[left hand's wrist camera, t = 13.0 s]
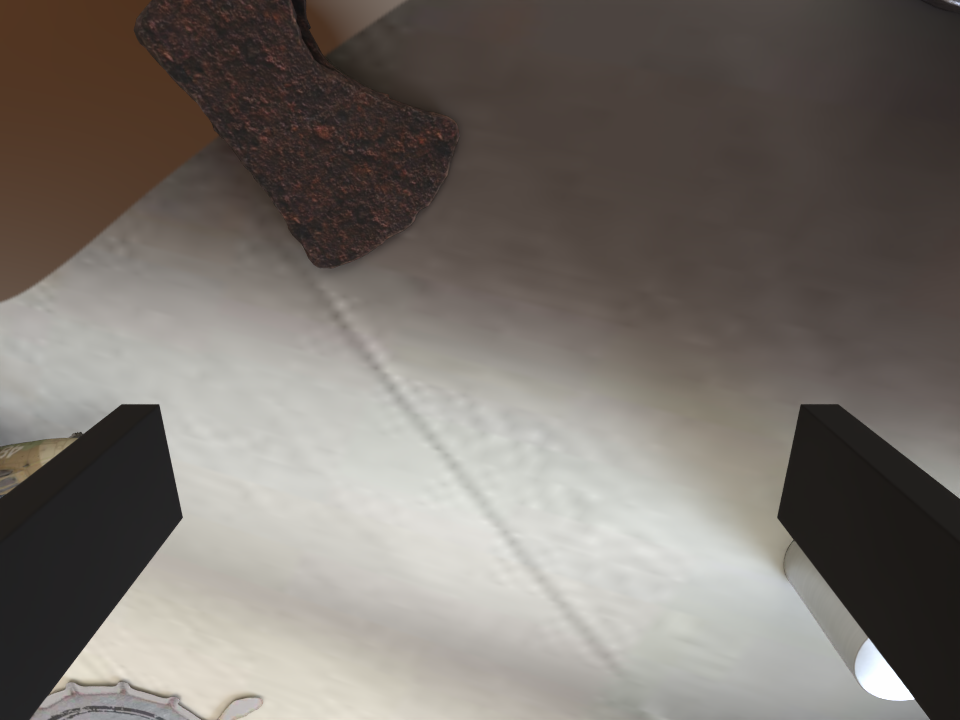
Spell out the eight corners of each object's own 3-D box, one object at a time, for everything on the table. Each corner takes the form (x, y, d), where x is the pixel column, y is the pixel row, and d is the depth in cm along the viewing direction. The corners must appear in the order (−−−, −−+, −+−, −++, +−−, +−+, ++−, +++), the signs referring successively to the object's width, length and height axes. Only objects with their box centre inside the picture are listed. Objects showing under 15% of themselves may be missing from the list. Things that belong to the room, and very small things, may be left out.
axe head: (517, 144, 38) (345, 308, 39) (480, 143, 46) (336, 281, 46) (294, -154, 30) (79, 55, 31) (292, -98, 38) (119, 71, 38)
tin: (764, 564, 53) (830, 665, 43) (837, 501, 51) (924, 594, 41) (825, 609, 55) (902, 717, 45) (898, 551, 53) (996, 650, 43)
